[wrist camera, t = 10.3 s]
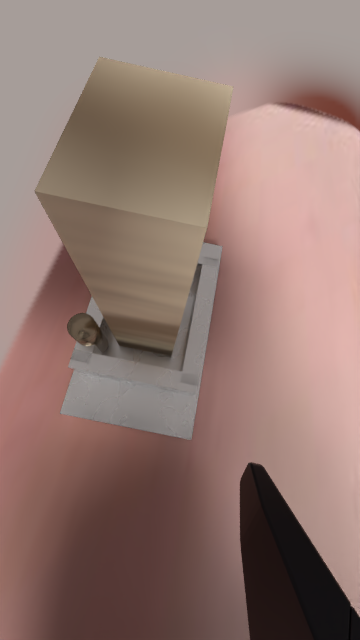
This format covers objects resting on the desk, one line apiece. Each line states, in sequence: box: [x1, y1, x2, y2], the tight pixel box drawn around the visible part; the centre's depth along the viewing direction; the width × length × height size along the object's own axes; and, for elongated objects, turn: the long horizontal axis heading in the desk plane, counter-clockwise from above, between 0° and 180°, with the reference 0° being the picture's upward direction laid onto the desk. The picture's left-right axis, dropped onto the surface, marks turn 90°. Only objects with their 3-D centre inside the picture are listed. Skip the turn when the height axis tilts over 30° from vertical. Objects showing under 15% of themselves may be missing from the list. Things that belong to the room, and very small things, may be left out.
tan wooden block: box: [35, 57, 233, 356], centre depth 12 cm, size 4×4×13 cm
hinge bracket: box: [60, 242, 223, 440], centre depth 17 cm, size 14×8×5 cm, turn 169°
